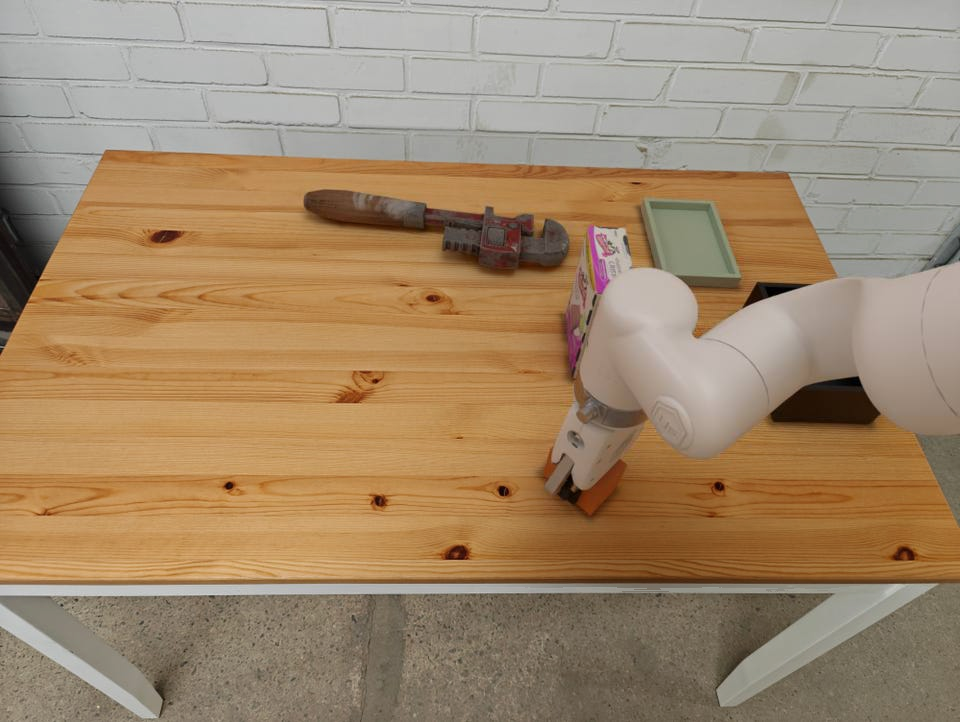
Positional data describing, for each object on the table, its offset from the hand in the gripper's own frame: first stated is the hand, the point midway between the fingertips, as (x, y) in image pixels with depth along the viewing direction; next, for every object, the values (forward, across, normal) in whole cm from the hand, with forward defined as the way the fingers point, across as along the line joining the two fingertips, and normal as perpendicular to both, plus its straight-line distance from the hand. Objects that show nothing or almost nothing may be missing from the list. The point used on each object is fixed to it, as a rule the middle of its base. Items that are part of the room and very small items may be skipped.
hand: (579, 479), depth 71 cm
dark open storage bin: (+1, +35, -10) cm, 36 cm away
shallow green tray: (+1, +44, +14) cm, 46 cm away
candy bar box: (+1, +16, +12) cm, 20 cm away
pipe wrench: (+1, +15, +41) cm, 44 cm away
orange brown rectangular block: (+1, 0, 0) cm, 1 cm away
